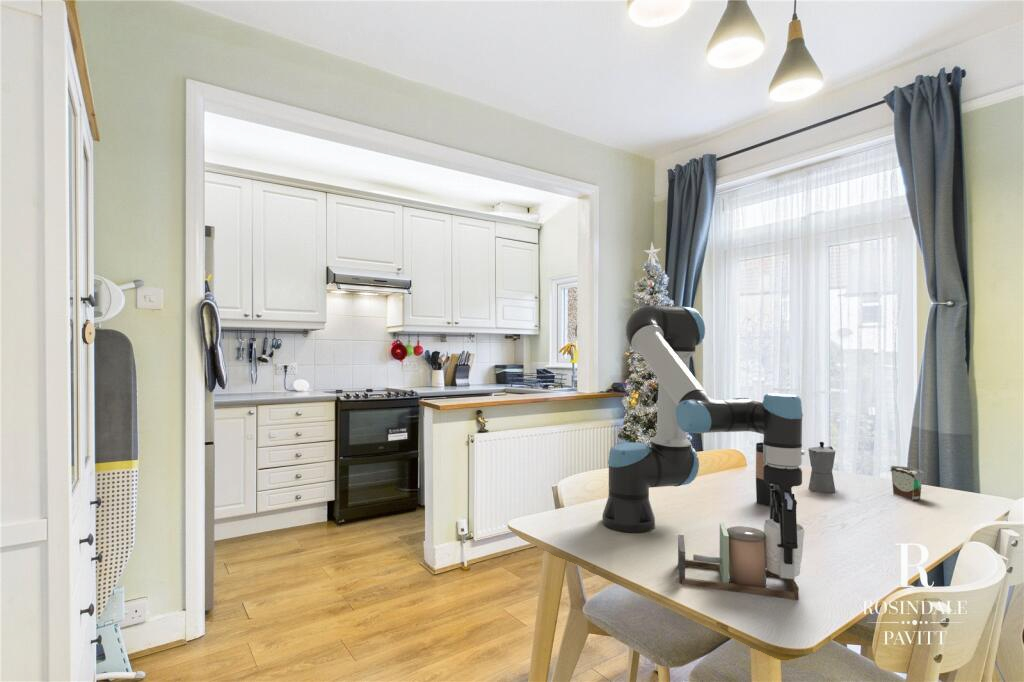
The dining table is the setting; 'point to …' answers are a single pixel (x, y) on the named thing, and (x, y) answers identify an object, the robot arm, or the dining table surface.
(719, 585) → the brown wooden rack
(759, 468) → the travel mug
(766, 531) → the white cup
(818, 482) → the coffeepot
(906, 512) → the dining table surface
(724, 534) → the pusher plate
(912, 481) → the food container
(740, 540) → the terracotta jar
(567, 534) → the dining table surface
